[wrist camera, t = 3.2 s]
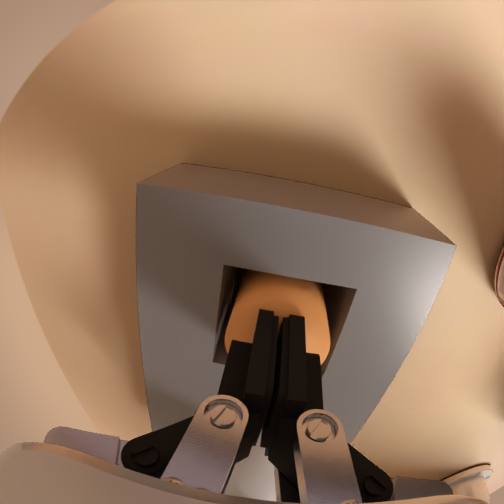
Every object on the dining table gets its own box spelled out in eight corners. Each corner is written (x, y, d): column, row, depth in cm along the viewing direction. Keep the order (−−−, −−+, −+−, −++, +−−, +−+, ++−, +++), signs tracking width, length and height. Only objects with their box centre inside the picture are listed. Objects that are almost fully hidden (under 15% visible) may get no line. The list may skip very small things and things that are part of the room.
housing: (308, 448, 24) (306, 494, 19) (175, 424, 24) (159, 469, 20) (413, 208, 14) (456, 245, 10) (181, 163, 15) (137, 183, 10)
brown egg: (310, 319, 17) (314, 387, 12) (238, 306, 17) (220, 371, 12) (329, 254, 15) (344, 312, 10) (249, 238, 15) (230, 291, 11)
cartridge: (280, 417, 22) (268, 545, 12) (217, 405, 22) (184, 531, 12) (296, 376, 20) (289, 529, 10) (223, 363, 20) (181, 512, 10)
